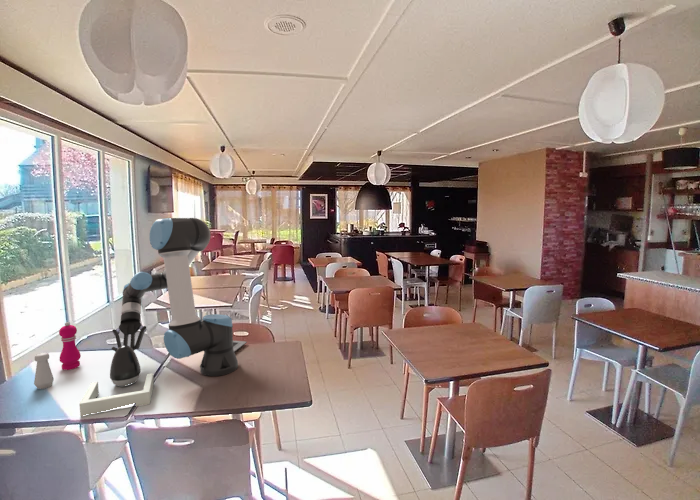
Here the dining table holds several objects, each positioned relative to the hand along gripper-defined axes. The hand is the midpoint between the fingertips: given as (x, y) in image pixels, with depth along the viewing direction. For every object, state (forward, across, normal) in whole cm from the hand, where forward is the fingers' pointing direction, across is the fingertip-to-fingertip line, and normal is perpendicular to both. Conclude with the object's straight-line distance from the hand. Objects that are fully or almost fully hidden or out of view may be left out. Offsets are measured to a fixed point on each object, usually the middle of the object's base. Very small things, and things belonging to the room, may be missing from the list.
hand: (127, 365), depth 150 cm
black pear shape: (+9, 0, +3) cm, 9 cm away
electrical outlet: (-6, -41, -13) cm, 44 cm away
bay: (+17, 0, +12) cm, 21 cm away
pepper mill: (-10, +24, -16) cm, 30 cm away
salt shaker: (+2, +28, -4) cm, 28 cm away
